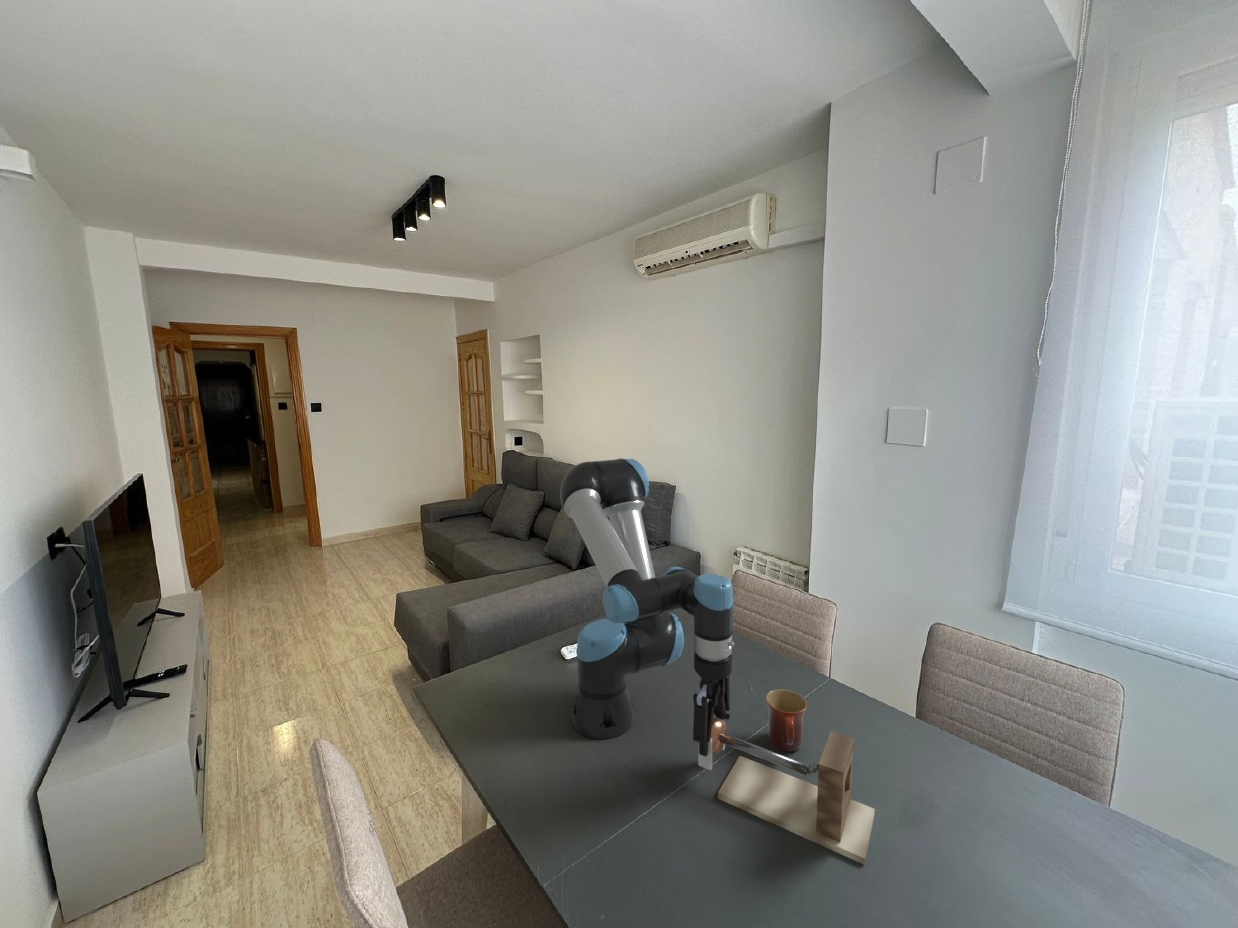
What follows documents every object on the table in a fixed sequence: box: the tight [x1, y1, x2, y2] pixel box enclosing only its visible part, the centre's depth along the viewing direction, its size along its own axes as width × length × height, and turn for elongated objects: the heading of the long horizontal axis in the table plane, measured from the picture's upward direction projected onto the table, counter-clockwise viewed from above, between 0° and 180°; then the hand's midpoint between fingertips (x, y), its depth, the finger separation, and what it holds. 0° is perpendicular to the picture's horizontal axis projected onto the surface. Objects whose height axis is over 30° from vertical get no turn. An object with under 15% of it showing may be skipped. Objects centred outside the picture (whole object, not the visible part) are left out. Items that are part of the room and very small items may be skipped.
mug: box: [765, 688, 808, 753], centre depth 111 cm, size 12×9×10 cm
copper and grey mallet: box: [696, 718, 819, 777], centre depth 99 cm, size 24×6×6 cm, turn 56°
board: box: [717, 755, 876, 866], centre depth 96 cm, size 26×12×1 cm, turn 56°
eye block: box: [816, 730, 855, 842], centre depth 91 cm, size 4×10×13 cm, turn 146°
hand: (711, 756), depth 105 cm, fingers closed on copper and grey mallet, 6 cm apart
